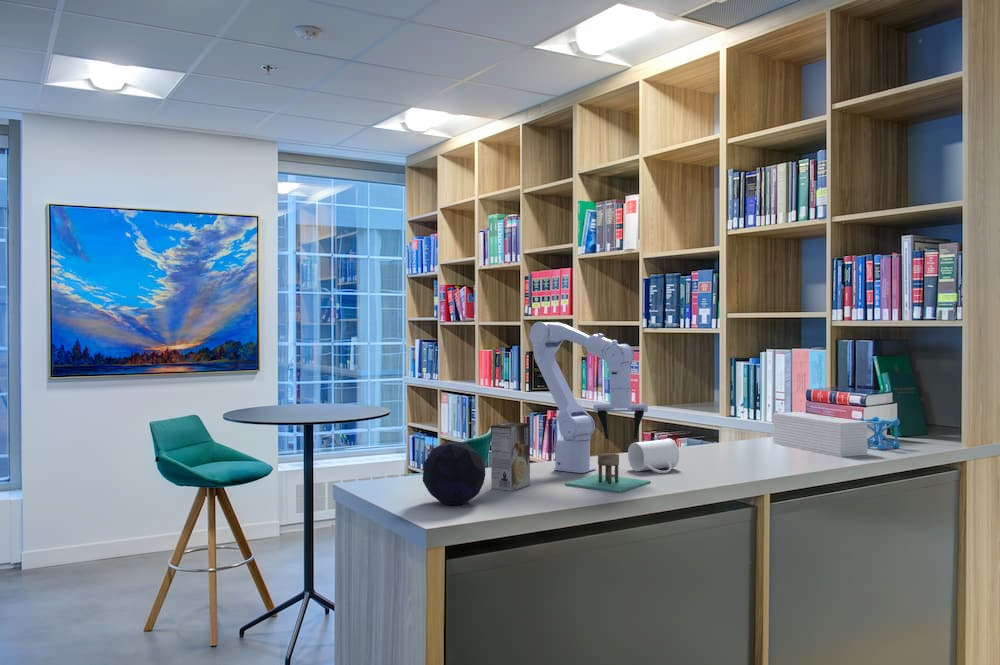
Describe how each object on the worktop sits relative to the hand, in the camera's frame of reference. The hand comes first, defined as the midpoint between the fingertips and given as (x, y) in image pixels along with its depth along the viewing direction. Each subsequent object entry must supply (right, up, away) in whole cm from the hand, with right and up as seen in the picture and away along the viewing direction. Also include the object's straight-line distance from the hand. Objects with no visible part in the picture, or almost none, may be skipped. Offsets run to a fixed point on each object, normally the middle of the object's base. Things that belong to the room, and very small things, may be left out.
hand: (621, 438), depth 214 cm
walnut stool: (-5, -10, -10) cm, 15 cm away
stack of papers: (+73, -11, +50) cm, 89 cm away
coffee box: (-30, -11, -13) cm, 35 cm away
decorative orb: (-44, -11, -32) cm, 55 cm away
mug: (+17, -7, +13) cm, 22 cm away
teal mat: (-5, -10, -10) cm, 15 cm away
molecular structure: (+94, -10, +51) cm, 108 cm away
